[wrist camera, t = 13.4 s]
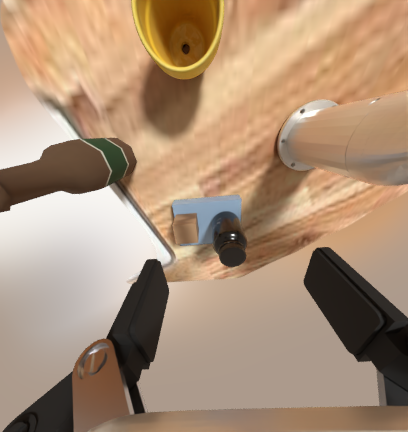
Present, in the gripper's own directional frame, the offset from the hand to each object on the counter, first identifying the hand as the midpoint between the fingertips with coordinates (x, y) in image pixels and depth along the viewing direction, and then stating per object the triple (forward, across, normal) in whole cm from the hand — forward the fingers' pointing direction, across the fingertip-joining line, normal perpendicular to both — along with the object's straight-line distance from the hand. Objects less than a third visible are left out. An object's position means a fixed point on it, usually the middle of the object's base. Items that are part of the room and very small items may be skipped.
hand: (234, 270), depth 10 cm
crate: (+25, +7, +11) cm, 28 cm away
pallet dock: (+28, +2, +12) cm, 31 cm away
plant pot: (+28, +3, -20) cm, 35 cm away
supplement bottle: (+26, -2, +12) cm, 28 cm away
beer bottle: (+28, +20, -5) cm, 35 cm away
